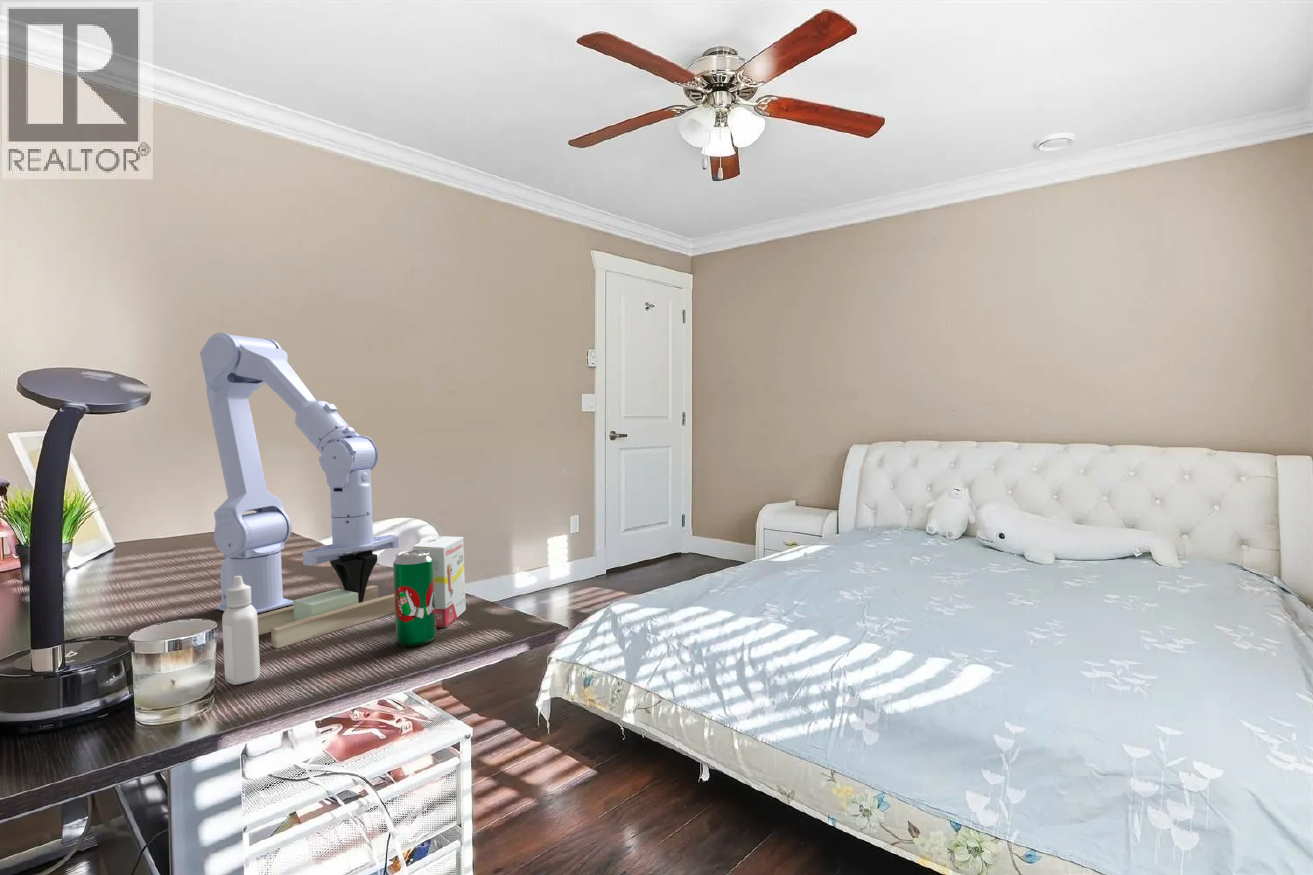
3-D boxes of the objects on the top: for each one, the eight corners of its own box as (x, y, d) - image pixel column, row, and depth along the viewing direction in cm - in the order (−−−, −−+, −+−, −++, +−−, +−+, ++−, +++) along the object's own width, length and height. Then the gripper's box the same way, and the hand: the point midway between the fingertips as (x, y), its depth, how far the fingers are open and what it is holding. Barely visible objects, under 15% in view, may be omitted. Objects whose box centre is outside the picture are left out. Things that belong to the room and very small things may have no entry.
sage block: (294, 627, 93) (293, 600, 93) (340, 614, 99) (339, 588, 99) (313, 632, 90) (311, 605, 90) (359, 618, 96) (358, 592, 96)
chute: (243, 636, 90) (242, 618, 90) (373, 599, 106) (372, 585, 106) (277, 648, 84) (277, 629, 84) (409, 608, 101) (408, 592, 101)
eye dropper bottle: (210, 688, 72) (204, 583, 72) (233, 669, 78) (229, 571, 77) (252, 684, 73) (247, 581, 72) (272, 666, 78) (268, 569, 78)
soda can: (426, 632, 89) (423, 547, 89) (443, 640, 86) (439, 552, 85) (390, 641, 86) (386, 553, 85) (406, 651, 82) (402, 559, 82)
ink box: (446, 628, 91) (443, 546, 90) (413, 628, 91) (409, 546, 91) (467, 610, 99) (465, 535, 99) (436, 610, 100) (433, 535, 99)
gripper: (320, 524, 90) (324, 618, 90) (409, 509, 102) (412, 593, 103) (293, 520, 94) (297, 611, 94) (382, 507, 106) (385, 588, 106)
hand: (355, 601), depth 99 cm, fingers closed
